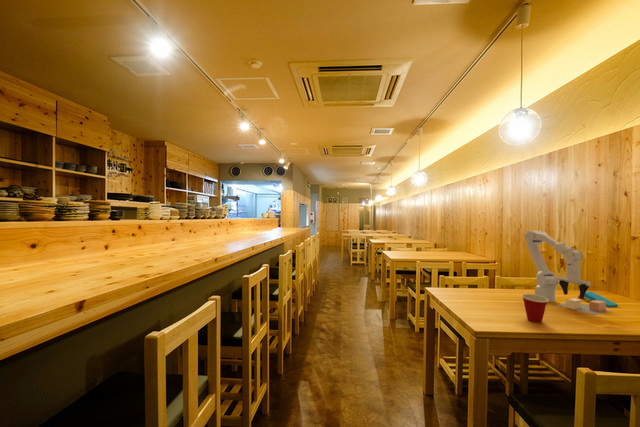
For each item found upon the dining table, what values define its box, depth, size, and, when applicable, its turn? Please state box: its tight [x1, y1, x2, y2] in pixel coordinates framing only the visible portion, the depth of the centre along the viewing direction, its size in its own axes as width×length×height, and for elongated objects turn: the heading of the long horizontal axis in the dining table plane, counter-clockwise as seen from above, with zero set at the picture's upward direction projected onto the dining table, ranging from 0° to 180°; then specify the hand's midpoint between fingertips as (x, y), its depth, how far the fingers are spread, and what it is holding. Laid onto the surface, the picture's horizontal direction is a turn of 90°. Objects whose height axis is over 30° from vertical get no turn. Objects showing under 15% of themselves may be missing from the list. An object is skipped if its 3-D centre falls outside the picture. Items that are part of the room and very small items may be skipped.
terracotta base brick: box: [588, 300, 607, 312], centre depth 158 cm, size 4×7×4 cm, turn 112°
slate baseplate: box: [556, 302, 611, 316], centre depth 161 cm, size 18×17×1 cm
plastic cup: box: [521, 293, 549, 324], centre depth 143 cm, size 11×11×12 cm
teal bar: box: [577, 291, 619, 308], centre depth 172 cm, size 7×7×18 cm
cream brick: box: [565, 297, 583, 310], centre depth 161 cm, size 4×7×4 cm, turn 112°
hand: (573, 296), depth 161 cm, fingers open, 7 cm apart
